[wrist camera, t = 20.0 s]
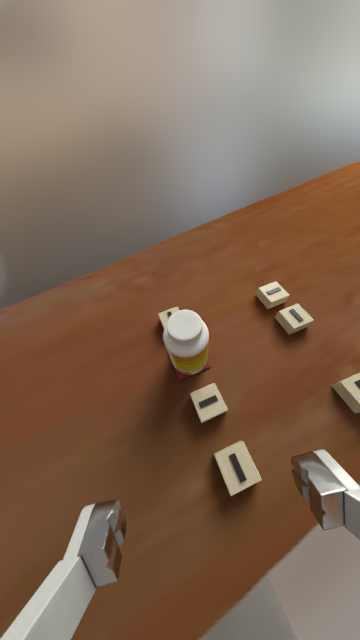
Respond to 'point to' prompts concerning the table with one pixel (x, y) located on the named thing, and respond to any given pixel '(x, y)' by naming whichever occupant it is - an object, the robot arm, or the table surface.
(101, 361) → the table surface
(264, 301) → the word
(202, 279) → the table surface
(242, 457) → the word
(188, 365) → the supplement bottle
